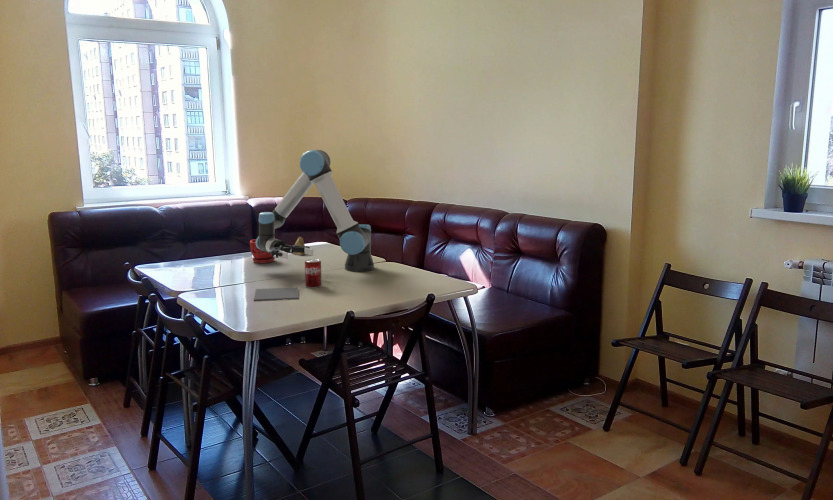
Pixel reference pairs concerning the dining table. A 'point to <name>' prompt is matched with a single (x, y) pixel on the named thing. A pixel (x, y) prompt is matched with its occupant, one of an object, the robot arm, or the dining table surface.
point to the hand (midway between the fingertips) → (300, 254)
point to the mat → (276, 294)
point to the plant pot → (260, 254)
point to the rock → (299, 243)
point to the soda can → (313, 273)
